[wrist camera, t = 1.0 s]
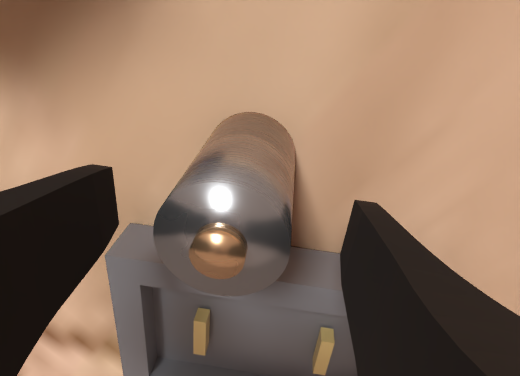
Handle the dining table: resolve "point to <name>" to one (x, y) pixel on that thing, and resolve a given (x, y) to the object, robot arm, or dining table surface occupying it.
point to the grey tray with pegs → (227, 318)
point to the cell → (232, 209)
